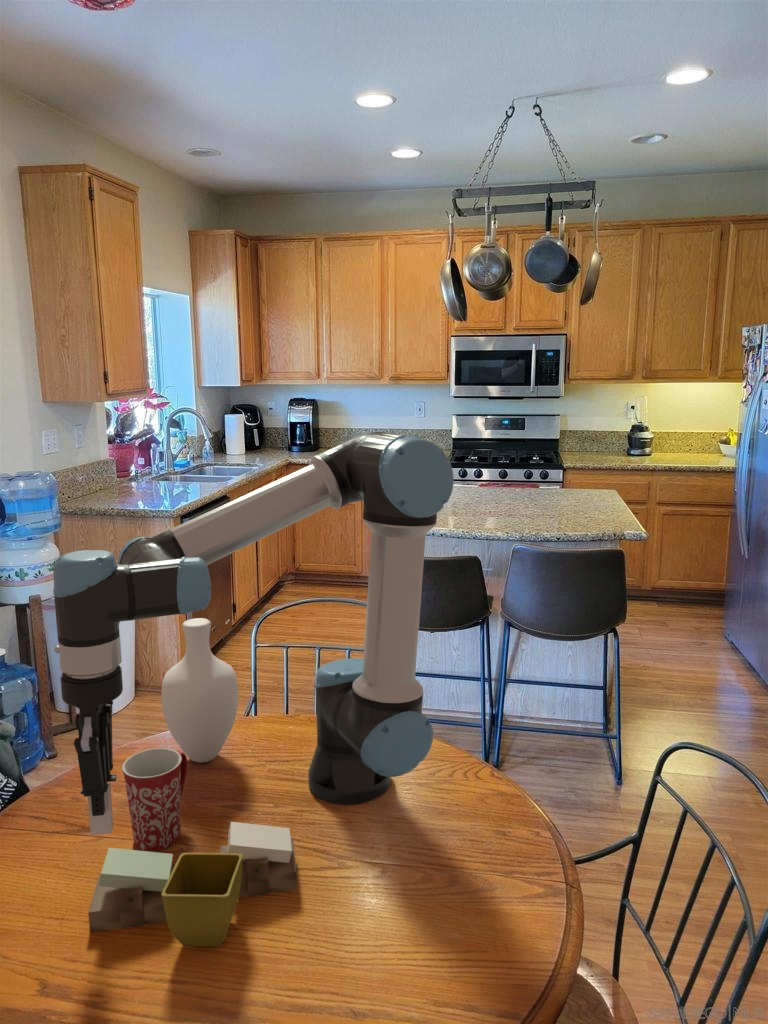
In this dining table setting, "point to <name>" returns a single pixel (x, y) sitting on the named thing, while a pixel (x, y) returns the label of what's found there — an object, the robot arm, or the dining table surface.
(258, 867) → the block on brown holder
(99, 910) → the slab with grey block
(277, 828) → the block
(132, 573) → the robot arm
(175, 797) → the mug
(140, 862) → the rocker green
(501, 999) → the dining table surface
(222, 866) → the flower pot
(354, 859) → the dining table surface
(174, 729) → the vase
